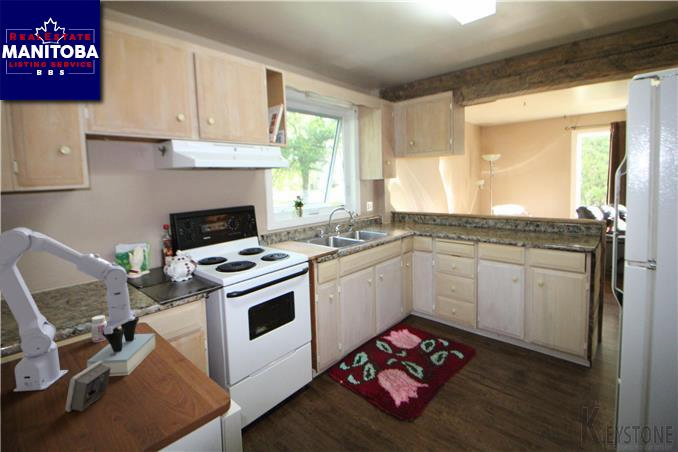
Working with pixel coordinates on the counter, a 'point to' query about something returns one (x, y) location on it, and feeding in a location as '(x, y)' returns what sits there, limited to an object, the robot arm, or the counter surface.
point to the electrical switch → (87, 386)
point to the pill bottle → (98, 328)
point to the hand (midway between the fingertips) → (123, 346)
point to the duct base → (127, 367)
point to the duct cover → (127, 350)
